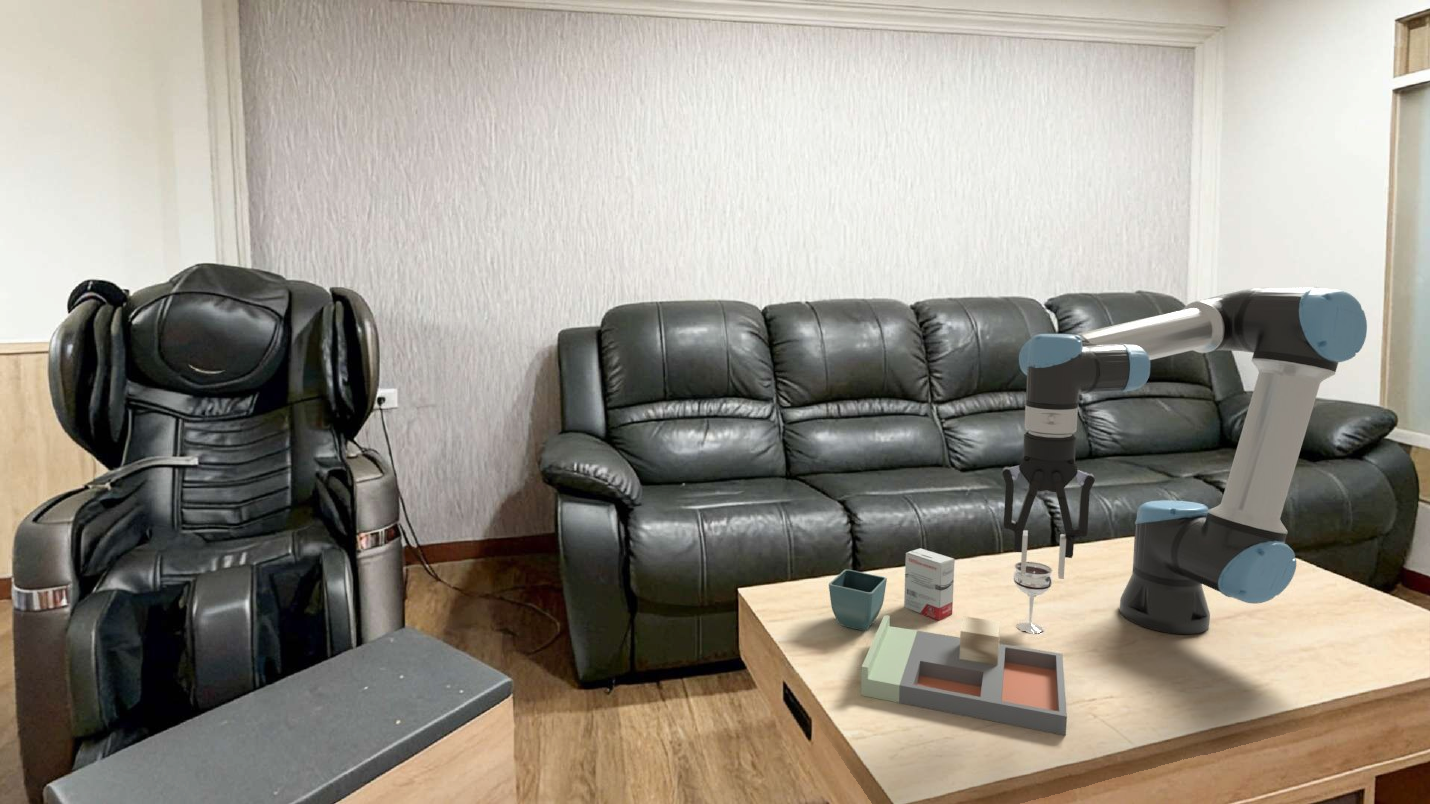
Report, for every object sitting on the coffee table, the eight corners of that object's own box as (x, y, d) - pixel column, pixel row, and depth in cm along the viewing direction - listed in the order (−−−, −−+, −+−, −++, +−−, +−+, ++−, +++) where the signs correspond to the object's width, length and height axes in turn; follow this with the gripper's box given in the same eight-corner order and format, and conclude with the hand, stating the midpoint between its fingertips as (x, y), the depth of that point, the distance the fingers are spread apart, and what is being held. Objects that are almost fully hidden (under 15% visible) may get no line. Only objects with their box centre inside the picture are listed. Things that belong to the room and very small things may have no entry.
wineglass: (1054, 627, 145) (1058, 567, 143) (1041, 639, 140) (1045, 578, 138) (1018, 616, 149) (1021, 558, 147) (1005, 628, 144) (1008, 569, 142)
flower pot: (870, 638, 141) (871, 593, 140) (827, 628, 146) (827, 583, 144) (886, 620, 148) (887, 577, 147) (844, 610, 153) (845, 568, 152)
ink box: (953, 614, 151) (955, 557, 149) (939, 621, 148) (941, 563, 146) (917, 600, 157) (919, 546, 155) (903, 607, 154) (904, 552, 152)
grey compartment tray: (1061, 670, 129) (1063, 642, 128) (1065, 735, 111) (1067, 704, 110) (883, 640, 140) (884, 615, 139) (861, 695, 122) (861, 666, 121)
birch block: (999, 648, 130) (1000, 621, 129) (997, 665, 125) (998, 637, 124) (962, 643, 133) (963, 616, 132) (959, 658, 127) (960, 631, 126)
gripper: (988, 433, 119) (981, 574, 123) (1116, 441, 112) (1105, 590, 116) (990, 424, 126) (984, 558, 130) (1111, 431, 119) (1101, 572, 123)
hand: (1041, 573), depth 123 cm, fingers open, 5 cm apart
